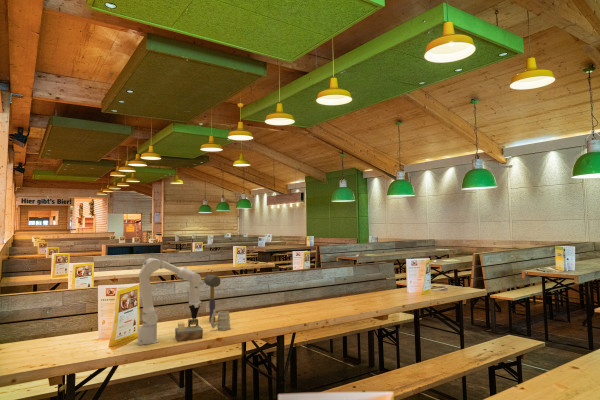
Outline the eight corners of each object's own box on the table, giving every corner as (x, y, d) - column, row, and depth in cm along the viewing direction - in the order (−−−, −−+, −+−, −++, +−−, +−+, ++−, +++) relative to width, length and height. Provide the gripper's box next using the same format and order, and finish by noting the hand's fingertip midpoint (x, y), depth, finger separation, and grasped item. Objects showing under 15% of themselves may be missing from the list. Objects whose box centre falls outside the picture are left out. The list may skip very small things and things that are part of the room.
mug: (231, 329, 227) (231, 309, 228) (212, 332, 222) (212, 311, 223) (228, 326, 234) (228, 306, 235) (209, 329, 229) (209, 308, 230)
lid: (177, 334, 204) (177, 325, 204) (175, 330, 213) (175, 321, 213) (202, 331, 209) (202, 322, 210) (198, 327, 218) (199, 319, 219)
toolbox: (177, 341, 203) (177, 327, 204) (173, 334, 218) (173, 321, 218) (202, 338, 209) (202, 324, 210) (197, 331, 223) (197, 318, 224)
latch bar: (191, 324, 219) (191, 322, 219) (188, 321, 228) (188, 319, 228) (196, 324, 220) (196, 322, 220) (193, 320, 229) (193, 318, 229)
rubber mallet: (203, 320, 251) (203, 274, 254) (214, 319, 255) (214, 273, 258) (210, 324, 241) (210, 276, 243) (221, 322, 245) (221, 275, 248)
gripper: (204, 295, 215) (203, 320, 214) (199, 291, 228) (198, 315, 227) (191, 296, 212) (190, 321, 211) (186, 292, 225) (186, 316, 224)
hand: (194, 318), depth 219 cm, fingers closed
